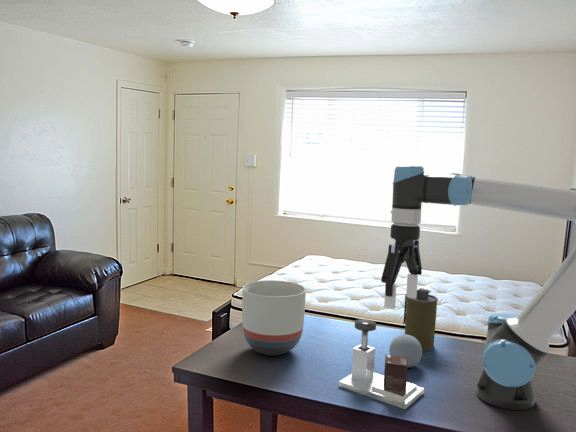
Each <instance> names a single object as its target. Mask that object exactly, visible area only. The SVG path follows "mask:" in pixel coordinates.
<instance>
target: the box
mask: <svg viewBox="0 0 576 432" xmlns="http://www.w3.org/2000/svg"><path fill="white" fill-rule="evenodd" d="M384 359H385V360H384V369H383V371H384V372H383V376H384V389H392V390H401V391H406V384H407V382H408V368H409V367H408V362H407V357H398V356H390V354H388V355H387V354H386V355H385V356H384Z"/></svg>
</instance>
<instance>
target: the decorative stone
mask: <svg viewBox="0 0 576 432" xmlns="http://www.w3.org/2000/svg"><path fill="white" fill-rule="evenodd" d="M388 349H389V356H398V357H407V362H408V368H412V367H414V366H416V365H418V363H419V362H420V361H421V359H422V356H423V351H422V347H421V345H420V343H419V341H418V340H417V339H416V338H414V337H413V336H411V335H406V334H405V333H404V334H403V333H402V334H399V335H397V336H396V337H394V338H393V339H392V340H391V342H390V344H389V348H388Z"/></svg>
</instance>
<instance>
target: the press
mask: <svg viewBox="0 0 576 432" xmlns="http://www.w3.org/2000/svg"><path fill="white" fill-rule="evenodd" d="M375 354H376V348H375V347H373V346H369V345H367V351H364V350H361V343H360V344H358V345H356V346H354V347H353V348H352V359H351V360H352V361H351V374H349V375H347V376H345V377H344V378H342V379H341V380H339V383H338V387H340V388H342V389H346V390H348V391H351V392H355V393H357V394H360V395H362V396H366V397H368V398H371V399H373V400H374V399H375V400H378V401H379V402H383V403H385V404H388V405H391V406H394V407H398V408H400V409H402V410H407V409H408V408H409V407H410V406H411V405H412V404H414V403H415V402H416V401H417V400H418V399H419V398H420V397H422V396H423V395H424V393H425V388H424V387H421V386H418V385H417V384H414V383H411V382H408V381H407V384H406V391H401V390H392V389H384V374H380V373H377V372H375V360H376V359H375Z"/></svg>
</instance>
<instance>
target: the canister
mask: <svg viewBox="0 0 576 432" xmlns="http://www.w3.org/2000/svg"><path fill="white" fill-rule="evenodd" d="M431 292H432V291H431V290H430V289H427V288H426V289H425V288H421V287H420V288H417V298H416V299H415V298H410V297H406V294H405V295H404V309H403V310H404V311H403V312H404V313H403V325H405V326H404V327H405V329H404V334H406V335H411V336H413V337H414V338H416V339H417V340H418V341H419V343H420V345H421V347H422V352H430V351H432V350H434V349H435V334H436V321H437V310H438V309H437V308H438V300H439V299H438V297H437V296H435V295H432V294H430V293H431Z"/></svg>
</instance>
